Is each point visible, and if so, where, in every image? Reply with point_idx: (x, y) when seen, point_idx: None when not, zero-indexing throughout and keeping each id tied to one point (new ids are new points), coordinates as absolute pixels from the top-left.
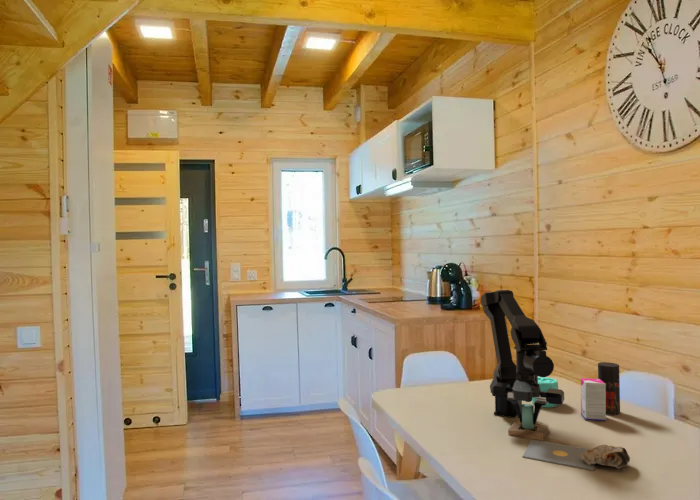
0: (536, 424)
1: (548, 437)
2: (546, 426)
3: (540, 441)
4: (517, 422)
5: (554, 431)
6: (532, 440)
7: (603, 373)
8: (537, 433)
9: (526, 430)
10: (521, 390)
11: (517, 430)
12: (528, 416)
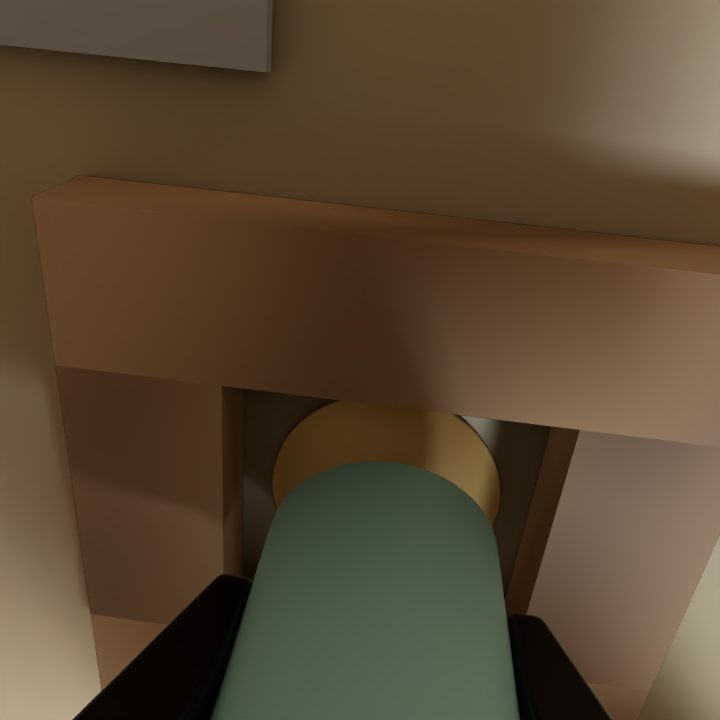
0: None
1: (34, 368)
2: (106, 663)
3: (67, 23)
4: None
5: (34, 611)
6: (239, 16)
7: None
8: (161, 314)
9: None
10: None
11: (596, 350)
12: (317, 712)
